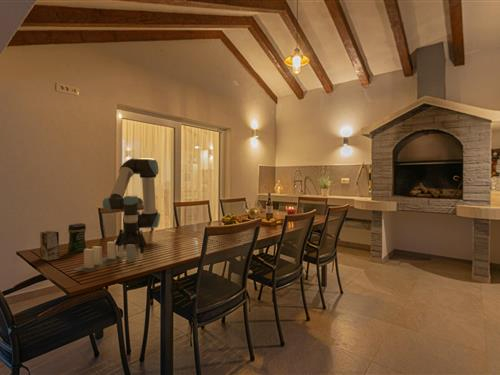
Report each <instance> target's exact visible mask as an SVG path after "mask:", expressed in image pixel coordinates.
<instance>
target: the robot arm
mask: <svg viewBox="0 0 500 375" xmlns="http://www.w3.org/2000/svg"><path fill="white" fill-rule="evenodd" d="M159 172H160V171H159V164H158V161H157V160H156V159H155V158H149V157H148V158H147V157H146V158H143V157H141V158H140V157H138V158H137V157H133V158H130V159H127V160H126V161H125V162H124V163H122V164H121V166H120V167H119V170H118V176H117V177H116V178H117V179H116V180H115V183H114V185H113V188H112V191H111V193H110V195H109V196H108V197H104V198H103V200H102V208H103V209H104V210H106V211H123V214H122V215H123V217H122V229H120V230H119V233H118V236H117V238H116V239H115V240H116V242H115V245H118V251H119V257H122V256H123V255H124V245H128V244H130V245H135V244H137V246H138V260H142V259H143V258H144V256H143V255H144V253H145V252H144V250H145V247H148V244H147V243H146V239H145V237H144V235H143V230H140V229H154V228H155V229H156V228H158V227H159V224H160V220H161V213H160V212H159V210H158V209H157V208H156V188H155V187H156V186H155V179H156V177H157V175H159ZM134 175H139V178H141V181H142V182H141V184H142V186H141V187H142V198H141V197H138V196H137V195H125V194H126V191H127V188H128V186H129V183H130V179H131V178H132V177H133V176H134ZM142 207H143V209H142ZM140 209H142V211H141V212H140ZM122 244H123V245H122Z"/></svg>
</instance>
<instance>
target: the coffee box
mask: <svg viewBox="0 0 500 375" xmlns="http://www.w3.org/2000/svg"><path fill="white" fill-rule="evenodd" d="M59 233H60V232H59V231H56V230H47V231H41V232H39V239H40V240H39V243H40V244H39V245H40V259H41V260H45V261H47V262H48V261H53V260H58V259H59V258H60V245H59V244H60V240H59V239H60V237H59V236H60V234H59Z"/></svg>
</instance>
